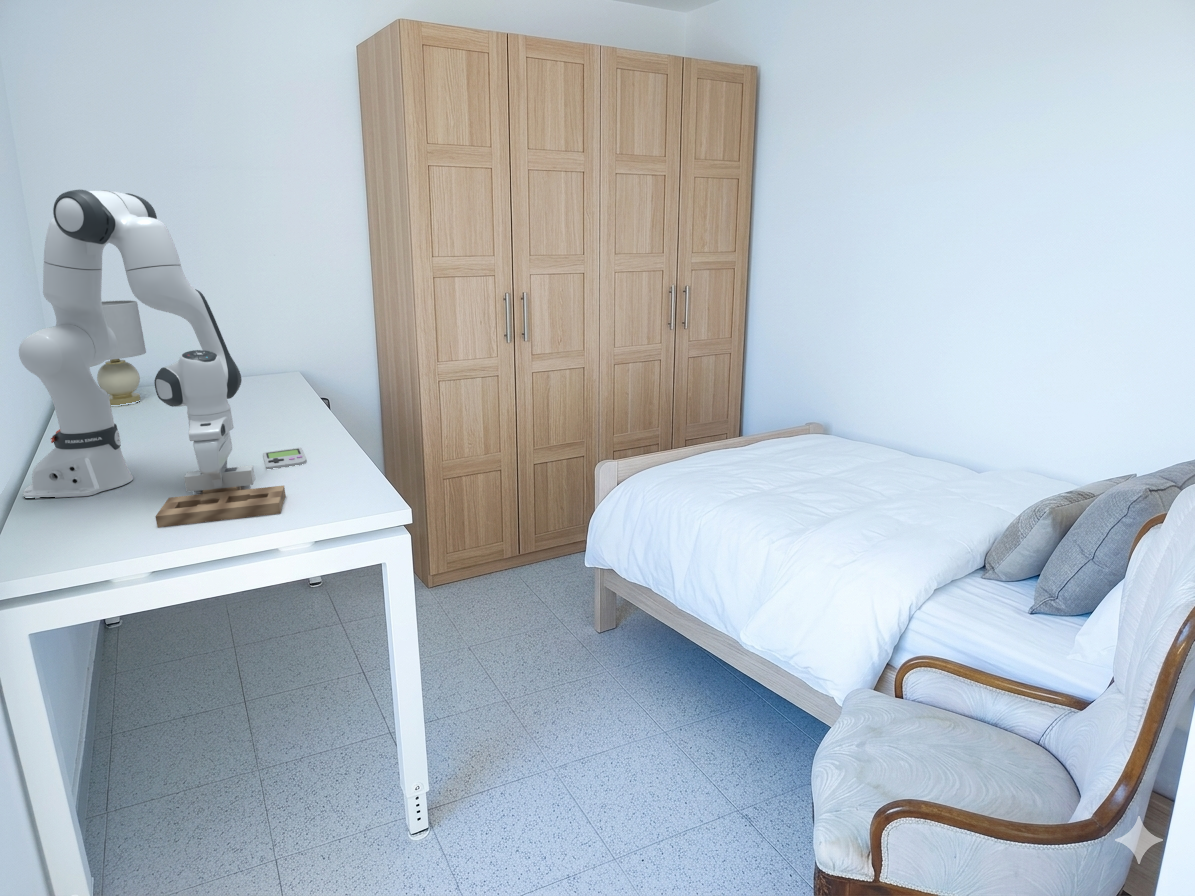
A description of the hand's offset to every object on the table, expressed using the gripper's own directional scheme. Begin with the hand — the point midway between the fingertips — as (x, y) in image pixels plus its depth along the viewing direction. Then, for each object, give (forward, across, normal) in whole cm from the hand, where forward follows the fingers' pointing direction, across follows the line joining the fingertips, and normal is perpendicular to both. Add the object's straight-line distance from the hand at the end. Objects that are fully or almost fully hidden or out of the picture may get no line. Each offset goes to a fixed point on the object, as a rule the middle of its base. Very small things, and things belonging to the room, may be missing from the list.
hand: (221, 481), depth 181 cm
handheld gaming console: (+4, -26, +11) cm, 28 cm away
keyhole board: (+3, +11, +2) cm, 12 cm away
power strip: (+1, 0, 0) cm, 1 cm away
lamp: (+4, -122, -52) cm, 133 cm away
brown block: (+3, 0, 0) cm, 3 cm away
